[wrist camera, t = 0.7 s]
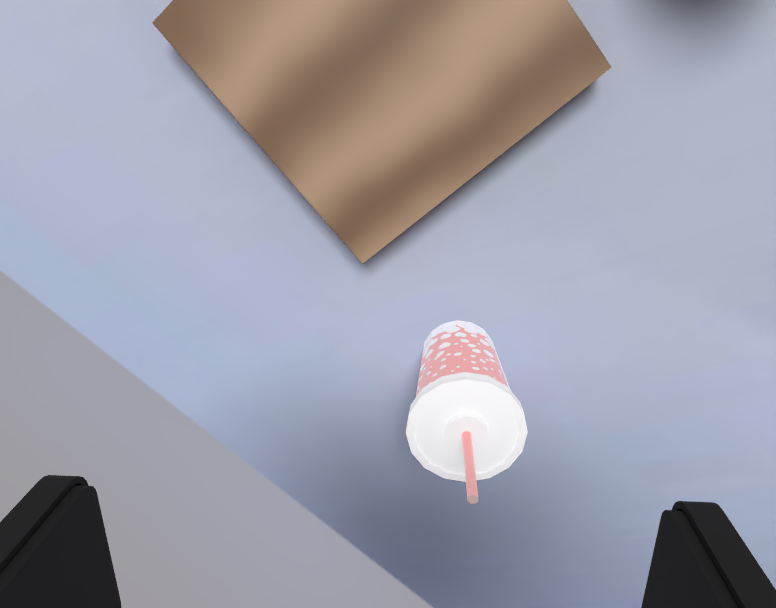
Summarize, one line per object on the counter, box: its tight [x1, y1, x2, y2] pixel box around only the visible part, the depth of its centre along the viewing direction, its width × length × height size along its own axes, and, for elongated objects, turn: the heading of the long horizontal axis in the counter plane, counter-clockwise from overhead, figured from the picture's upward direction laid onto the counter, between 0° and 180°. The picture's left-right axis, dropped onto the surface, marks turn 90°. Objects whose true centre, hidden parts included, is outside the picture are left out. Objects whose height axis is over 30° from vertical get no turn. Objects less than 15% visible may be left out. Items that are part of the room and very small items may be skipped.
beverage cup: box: [406, 321, 528, 504], centre depth 32 cm, size 6×6×14 cm
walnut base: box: [153, 0, 611, 264], centre depth 31 cm, size 16×16×3 cm
